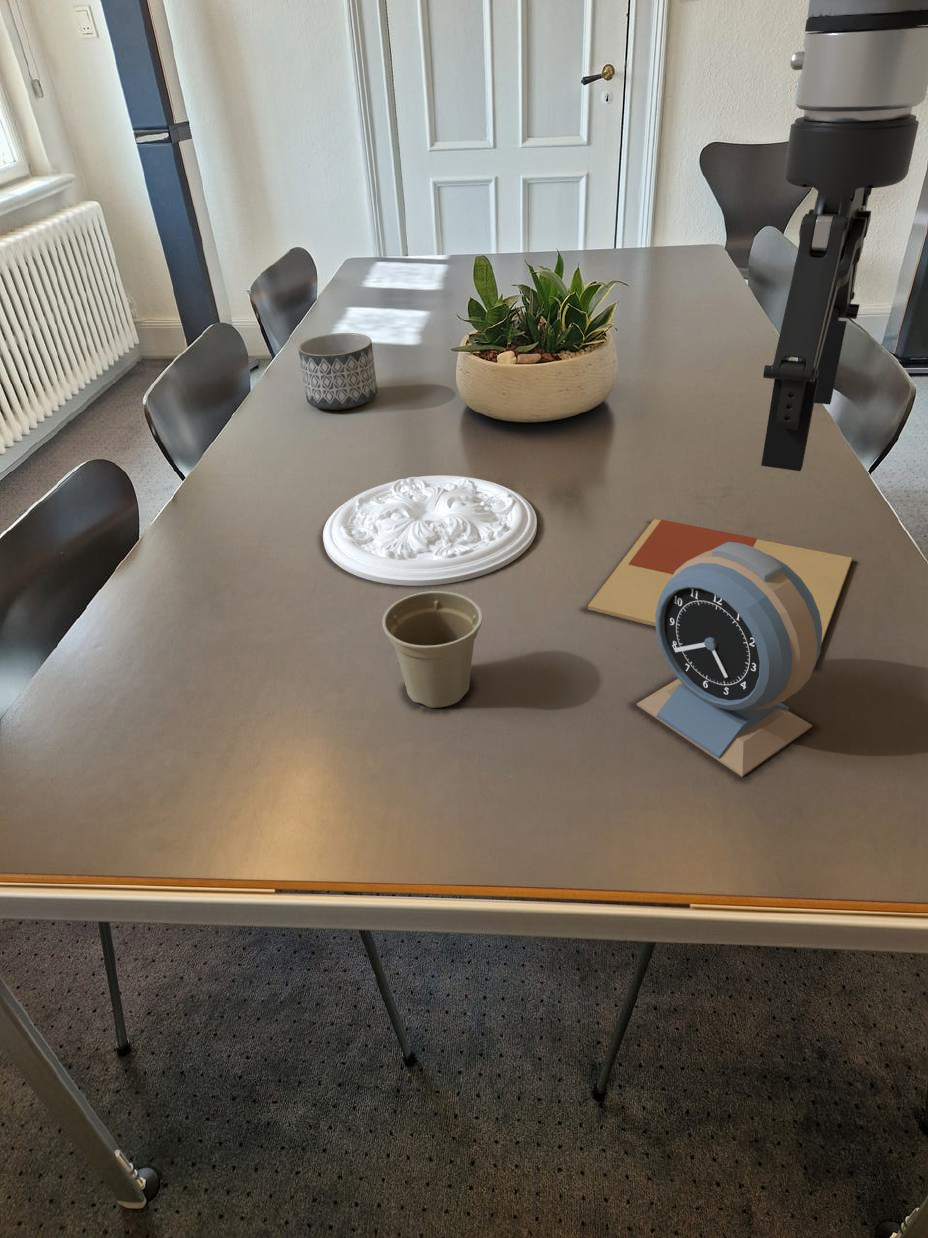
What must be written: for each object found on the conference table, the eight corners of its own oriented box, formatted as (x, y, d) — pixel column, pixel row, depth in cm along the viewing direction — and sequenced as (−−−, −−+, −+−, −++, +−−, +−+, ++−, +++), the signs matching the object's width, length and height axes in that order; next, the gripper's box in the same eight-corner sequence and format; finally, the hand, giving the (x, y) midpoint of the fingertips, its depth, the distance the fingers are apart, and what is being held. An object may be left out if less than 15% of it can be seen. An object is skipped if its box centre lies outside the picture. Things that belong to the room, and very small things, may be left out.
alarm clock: (629, 700, 82) (640, 539, 71) (697, 659, 86) (717, 502, 76) (751, 783, 72) (785, 611, 62) (821, 733, 76) (863, 564, 66)
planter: (374, 413, 147) (366, 353, 141) (301, 416, 148) (291, 356, 142) (381, 388, 157) (375, 331, 151) (314, 391, 158) (305, 334, 152)
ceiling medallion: (280, 559, 107) (276, 538, 105) (391, 470, 127) (389, 450, 126) (480, 605, 96) (479, 581, 95) (567, 499, 117) (568, 478, 115)
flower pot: (446, 648, 90) (440, 579, 85) (505, 689, 84) (503, 617, 79) (373, 687, 85) (362, 616, 80) (430, 734, 79) (422, 660, 74)
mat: (851, 562, 99) (852, 556, 99) (813, 666, 84) (814, 661, 84) (653, 522, 110) (654, 517, 109) (587, 609, 94) (587, 604, 94)
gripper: (823, 96, 64) (779, 374, 76) (751, 136, 46) (708, 491, 58) (934, 93, 61) (870, 383, 73) (903, 135, 43) (824, 509, 55)
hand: (798, 431), depth 66 cm, fingers open, 13 cm apart
